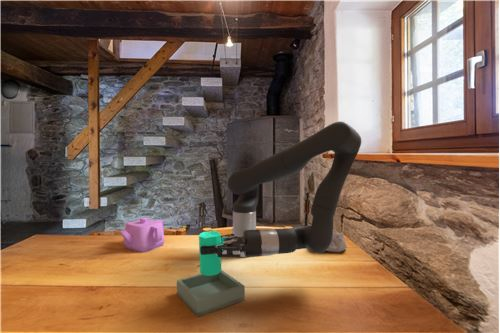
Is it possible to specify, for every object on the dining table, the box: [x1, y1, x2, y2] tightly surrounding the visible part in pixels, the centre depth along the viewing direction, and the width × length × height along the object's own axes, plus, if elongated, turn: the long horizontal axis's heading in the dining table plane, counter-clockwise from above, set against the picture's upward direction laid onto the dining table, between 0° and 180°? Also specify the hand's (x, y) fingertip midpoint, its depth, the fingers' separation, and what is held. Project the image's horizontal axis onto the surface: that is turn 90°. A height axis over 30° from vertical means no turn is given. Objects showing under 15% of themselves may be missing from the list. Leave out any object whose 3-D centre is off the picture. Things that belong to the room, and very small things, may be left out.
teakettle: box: [119, 217, 165, 253], centre depth 123 cm, size 17×17×12 cm
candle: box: [198, 228, 222, 276], centre depth 79 cm, size 6×6×12 cm
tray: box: [176, 269, 246, 318], centre depth 80 cm, size 14×14×4 cm
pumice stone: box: [325, 229, 348, 253], centre depth 117 cm, size 15×8×10 cm, turn 83°
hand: (200, 247), depth 79 cm, fingers closed on candle, 5 cm apart
